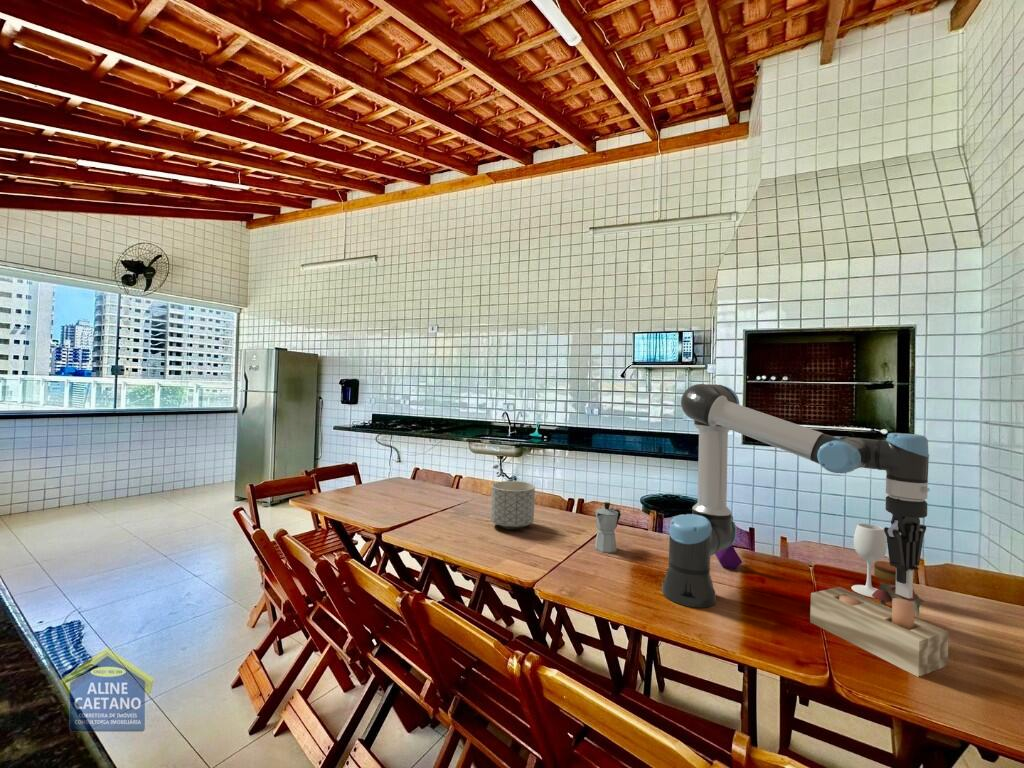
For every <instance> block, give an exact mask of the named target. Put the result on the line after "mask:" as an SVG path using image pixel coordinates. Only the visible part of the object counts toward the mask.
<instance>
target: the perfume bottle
mask: <svg viewBox="0 0 1024 768" xmlns="http://www.w3.org/2000/svg"><path fill="white" fill-rule="evenodd" d="M731 517H732V520H733V521H734V516H733V515H732V516H731ZM738 554H739V553H738V552H737V551H736V550H735V547H734V544H732V545H731V546H730V547H729V548H727V549H726V550H724V551H720V552H718V553H716V554H714V555H715V556H716V557H715V558H716V559H717V561H718V563H719V564H720V565H721V568H723V569H733V570H736V569H737V568H738V567H739V566H740V565H741V564H742V563H743V561H742V559H741V558H740V556H739V555H738Z"/></svg>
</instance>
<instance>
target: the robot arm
mask: <svg viewBox="0 0 1024 768" xmlns="http://www.w3.org/2000/svg"><path fill="white" fill-rule="evenodd" d="M739 399H740V398H739V396H738V394H736V392H735V391H734V390H733V389H731V388H730V387H728V386H726V385H723V384H716V383H715V384H709V383H697V384H694V385H691V386H689V387H688V388H687V389H685V390H684V392H683V393H682V396H681V400H680V406H681V408H682V411H683V413H684V414H685V415H686V416H687V417H688V418H690V419H692V420H694V421H693V424H694V427H696V428H697V430H698V458H697V459H698V460H697V461H698V466H697V467H698V469H697V471H698V473H697V503H695V504H694V505H693V506H692V510H691V511H692V513H686V514H678V515H675V516H674V517H673V518H671V520H670V523H669V529H668V530H669V531H668V534H669V538H668V540H669V541H668V543H669V545H668V548H669V549H668V568H667V570H666V573H665V575H664V576H665V577H664V578H663V581H662V583H661V592H662V595H664V597H666V598H667V599H668V600H670V601H671V602H673V603H675V604H679V605H682V606H686V607H691V608H707V607H708V608H709V607H711V606H713V605H714V604H715V603H716V599H717V598H716V597H717V595H716V591H715V588H714V585H713V581H712V576H711V556H714V555H715V554H716V553H718V552H720V551H724V550H726V549H727V548H729V547H730V546H731V545H734V543H735V542H736V539H737V535H738V529H737V524H736V523H735V521H734V519H733V520H732V517H731V516H733V515H732V511H731V509H730V508H729V507H728V506H727V496H728V495H727V493H728V492H727V491H728V449H729V448H728V445H729V443H728V442H729V441H728V440H729V437H728V436H729V432H730V431H733V432H735V433H738V434H741V435H743V436H746V437H749V438H751V439H754V440H757V441H758V442H761V443H764V444H767V445H769V446H772V447H774V448H777V449H780V450H783V451H785V452H788V453H789V454H793V455H795V456H799V457H801V458H804V459H806V460H809V461H811V462H813V463H816V464H818V465H820V466H821V467H822V468H823V469H824V470H826V471H828V472H830V473H833V474H848V473H851V472H853V471H855V470H857V469H860V468H861V469H870V470H871V469H872V470H877V471H885V472H886V473H885V474H886V476H885V494H886V497H885V511H886V512H888V513H890V514H891V520H890V524H891V525H890V527H887V526H885V527H884V528H883V529H884V532H885V535H886V541H887V552H888V560H889V561H888V562H890V565H891V566H894V567H896V583H895V585H896V592H895V594H898V595H901V596H903V597H906V598H913V590H914V571H919V569H920V568H919V566H920V563H921V557H922V556H921V555H922V550H923V549H922V548H923V543H924V538H925V537H924V536H925V533H926V530H927V526H926V525H924V524H921V519H923V518H926V517H927V516H928V502H927V501H926V500H927V499H928V492H930V487H928V485H929V483H928V482H929V460H930V453H929V440H928V438H927V437H926V436H925V435H922V434H913V433H902V432H901V433H900V432H889V433H887V436H886V438H885V439H871V438H863V437H850V436H846V435H845V436H843V435H842V436H839V435H838V436H837V435H836V436H834V435H830V434H826V433H823V432H821V431H818V430H815V429H811V428H809V427H806V426H803V425H800V424H797V423H794V422H792V421H788V420H785V419H782V418H779V417H777V416H773V415H771V414H767V413H764V412H762V411H758V410H755V409H753V408H750V407H747V406H744V405H741V404H740V400H739Z"/></svg>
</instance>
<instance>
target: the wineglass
mask: <svg viewBox="0 0 1024 768" xmlns="http://www.w3.org/2000/svg"><path fill="white" fill-rule="evenodd" d="M853 547H854V550H855V553H857V555H858V556H859V557H860V558H862V559H863V560H864V561H865V563H866V567H867V568H866V569H867V570H866V582H865V585H864V584H854V585H852V586H851V590H852V591H853V592H854V593H856V594H858V595H861V596H863V597H867V598H868V597H869V598H872V599H876V598H875V597H873V596H872V594H873V593H874V592H875V591H876V590H879V588H876V587H873V585H872V567H873V564H874V563H875V562H876V561H882V559H883V558H885V556H886V554H887V551H888V545H887V537H886V534H885V532H884V528H883V527H881V526H879V525H875V524H870V523H865V522H864V523H862V522H860V523H857V525H856V527H855V530H854V534H853Z"/></svg>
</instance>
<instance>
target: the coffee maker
mask: <svg viewBox="0 0 1024 768" xmlns="http://www.w3.org/2000/svg"><path fill="white" fill-rule="evenodd" d="M603 505H604V507H603V508H598V509H596V510H595V520H596V521H595V522H596V528H597V533H596V537H595V543H594V549H595V551H598V552H600V553H605V554H613V553H615V552H617V551H618V550H617V549H618V548H617V541H616V533H615V530H616V529H617V526H618V525H619V521H620V518H621V515H622V514H621V511H620V509H618V508H613V507H611V506H610V505H611V503H610V502H607V501H604V502H603Z"/></svg>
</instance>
